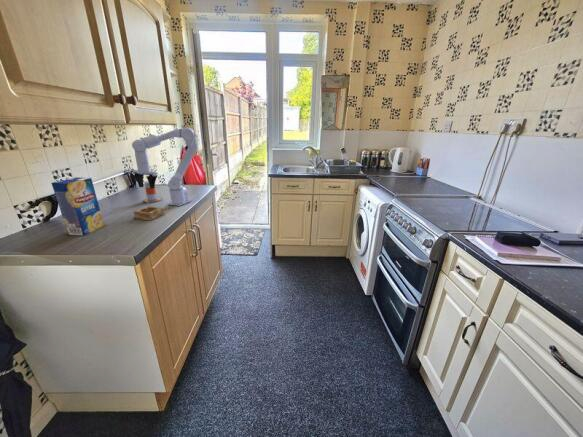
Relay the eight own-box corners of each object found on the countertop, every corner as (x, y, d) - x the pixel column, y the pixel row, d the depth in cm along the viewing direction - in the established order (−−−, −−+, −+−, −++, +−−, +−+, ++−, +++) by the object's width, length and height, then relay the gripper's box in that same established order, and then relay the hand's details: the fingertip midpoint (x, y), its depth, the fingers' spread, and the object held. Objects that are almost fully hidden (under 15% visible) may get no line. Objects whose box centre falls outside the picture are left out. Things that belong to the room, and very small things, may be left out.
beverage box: (104, 225, 112) (91, 177, 104) (83, 235, 102) (67, 183, 94) (90, 224, 113) (76, 177, 105) (68, 234, 102) (50, 182, 95)
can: (152, 198, 153) (149, 180, 149) (159, 198, 151) (156, 181, 147) (145, 200, 148) (141, 182, 144) (152, 201, 147) (148, 183, 143)
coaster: (152, 197, 155) (152, 197, 155) (164, 199, 153) (164, 198, 153) (140, 201, 147) (140, 200, 147) (152, 203, 145) (152, 202, 145)
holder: (149, 212, 130) (148, 206, 128) (164, 214, 127) (162, 208, 126) (134, 218, 121) (133, 211, 120) (149, 220, 119) (148, 213, 118)
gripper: (125, 162, 131) (130, 187, 135) (147, 165, 127) (151, 190, 132) (136, 161, 137) (141, 185, 142) (158, 163, 133) (161, 187, 138)
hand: (147, 187), depth 137 cm, fingers open, 7 cm apart
